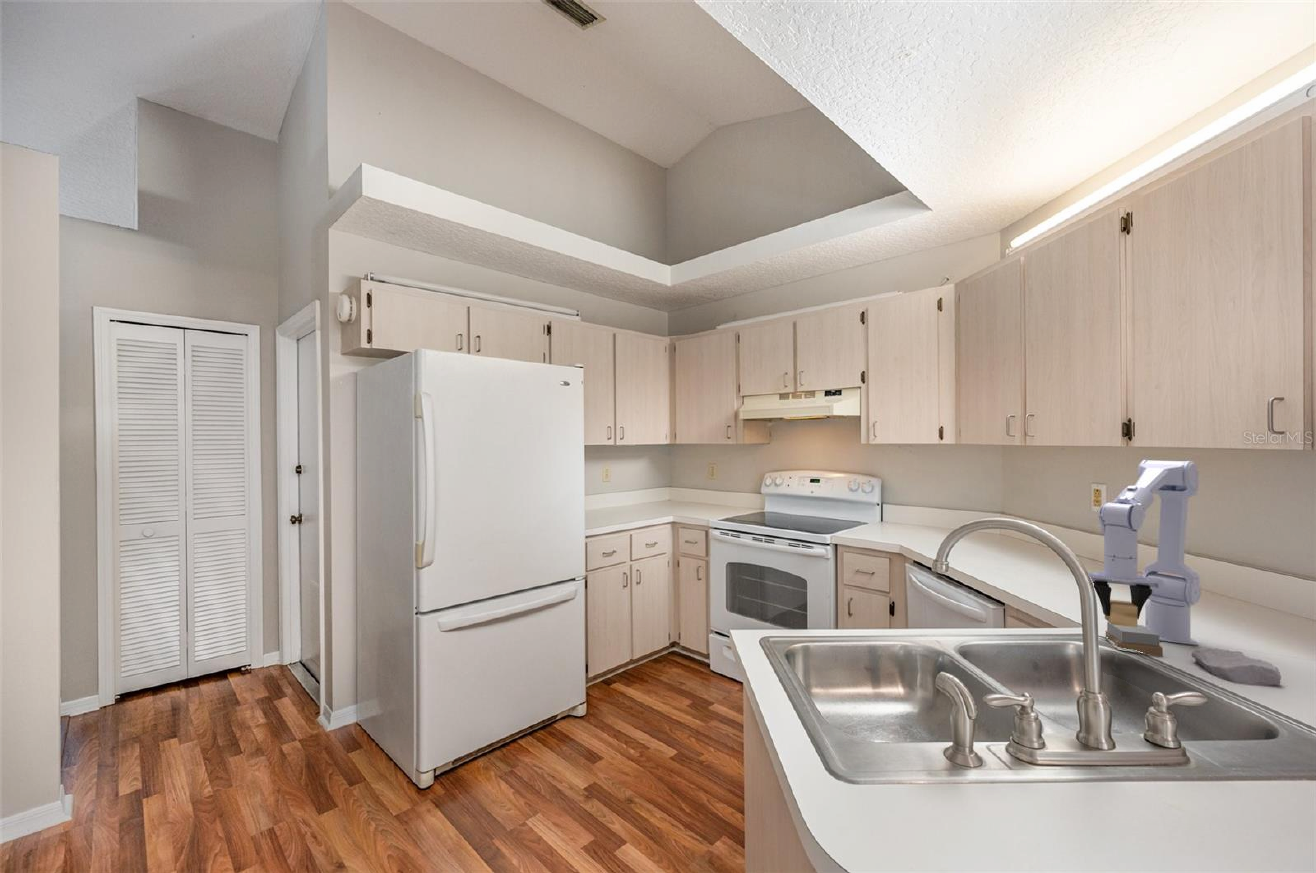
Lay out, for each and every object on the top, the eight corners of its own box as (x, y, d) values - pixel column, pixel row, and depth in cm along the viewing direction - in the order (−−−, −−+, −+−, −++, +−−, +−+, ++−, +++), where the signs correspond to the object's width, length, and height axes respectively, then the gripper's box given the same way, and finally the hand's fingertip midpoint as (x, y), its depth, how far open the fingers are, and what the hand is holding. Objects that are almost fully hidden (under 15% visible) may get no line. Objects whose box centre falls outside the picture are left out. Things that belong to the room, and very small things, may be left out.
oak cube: (1104, 618, 124) (1104, 598, 124) (1129, 621, 122) (1129, 601, 122) (1111, 624, 120) (1111, 604, 120) (1137, 627, 118) (1137, 606, 118)
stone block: (1231, 692, 107) (1289, 687, 106) (1225, 668, 108) (1282, 662, 106) (1184, 670, 119) (1236, 665, 117) (1179, 648, 120) (1230, 643, 118)
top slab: (1107, 632, 130) (1107, 621, 130) (1142, 635, 128) (1142, 625, 128) (1121, 642, 124) (1122, 631, 124) (1159, 646, 122) (1159, 635, 122)
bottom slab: (1105, 641, 131) (1105, 631, 131) (1147, 646, 128) (1147, 636, 128) (1117, 652, 124) (1117, 641, 124) (1162, 658, 121) (1162, 647, 121)
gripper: (1086, 556, 121) (1086, 616, 120) (1170, 563, 115) (1170, 626, 115) (1077, 550, 127) (1077, 608, 127) (1155, 556, 121) (1155, 616, 121)
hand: (1120, 616), depth 121 cm, fingers closed on oak cube, 4 cm apart
